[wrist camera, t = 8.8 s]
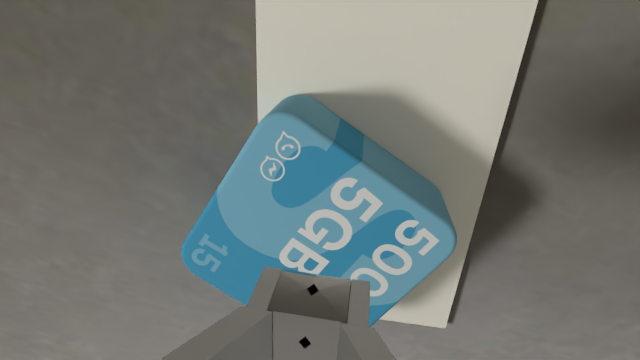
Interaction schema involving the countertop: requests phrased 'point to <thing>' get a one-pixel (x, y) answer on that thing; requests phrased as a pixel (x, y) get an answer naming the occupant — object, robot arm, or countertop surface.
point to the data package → (320, 210)
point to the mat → (406, 95)
